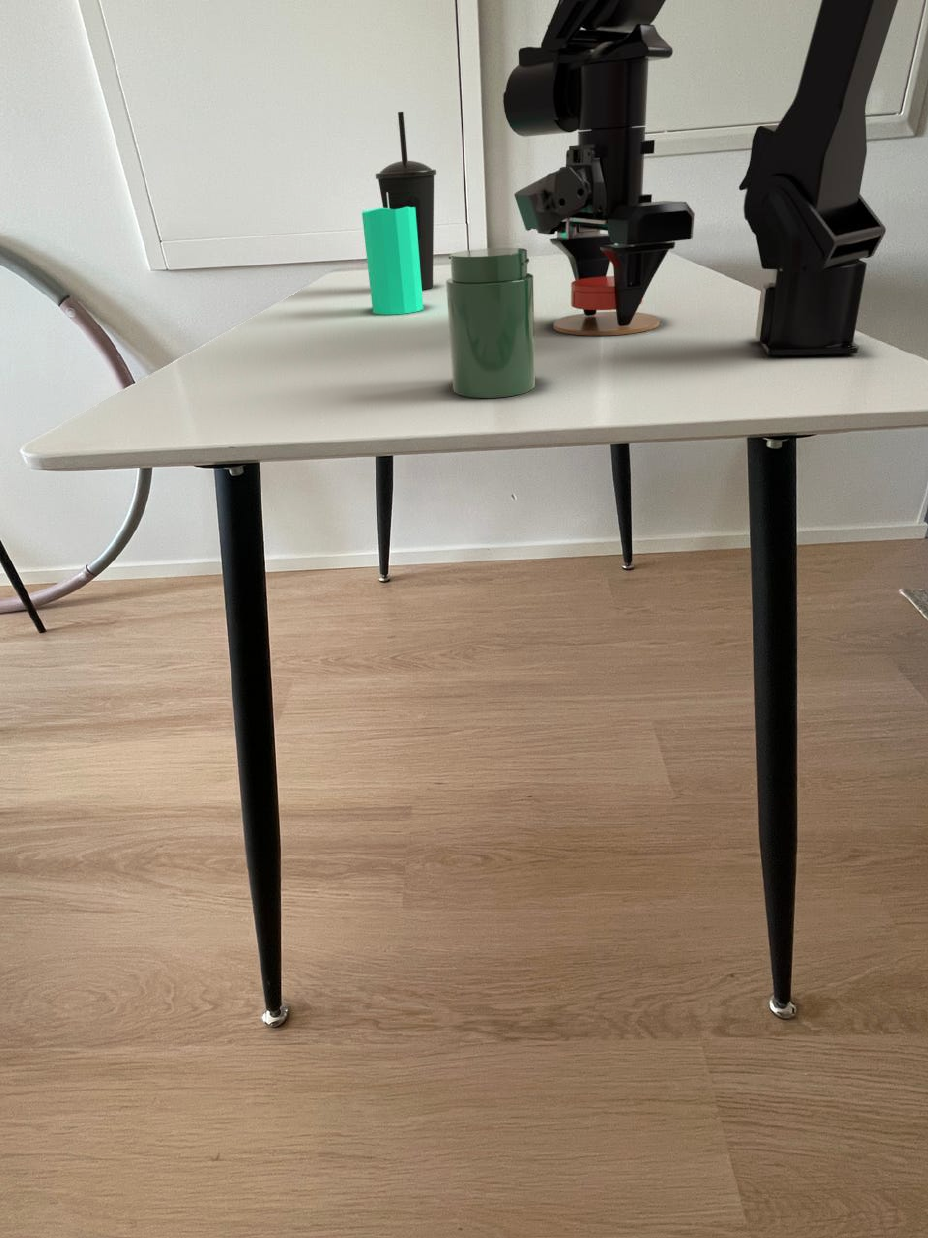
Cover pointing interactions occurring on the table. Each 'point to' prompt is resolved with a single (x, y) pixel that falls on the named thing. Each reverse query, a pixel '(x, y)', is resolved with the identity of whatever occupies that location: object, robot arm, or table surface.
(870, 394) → the table surface
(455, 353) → the jam jar
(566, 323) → the coaster
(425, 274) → the drinking cup
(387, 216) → the candle
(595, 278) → the jam lid
